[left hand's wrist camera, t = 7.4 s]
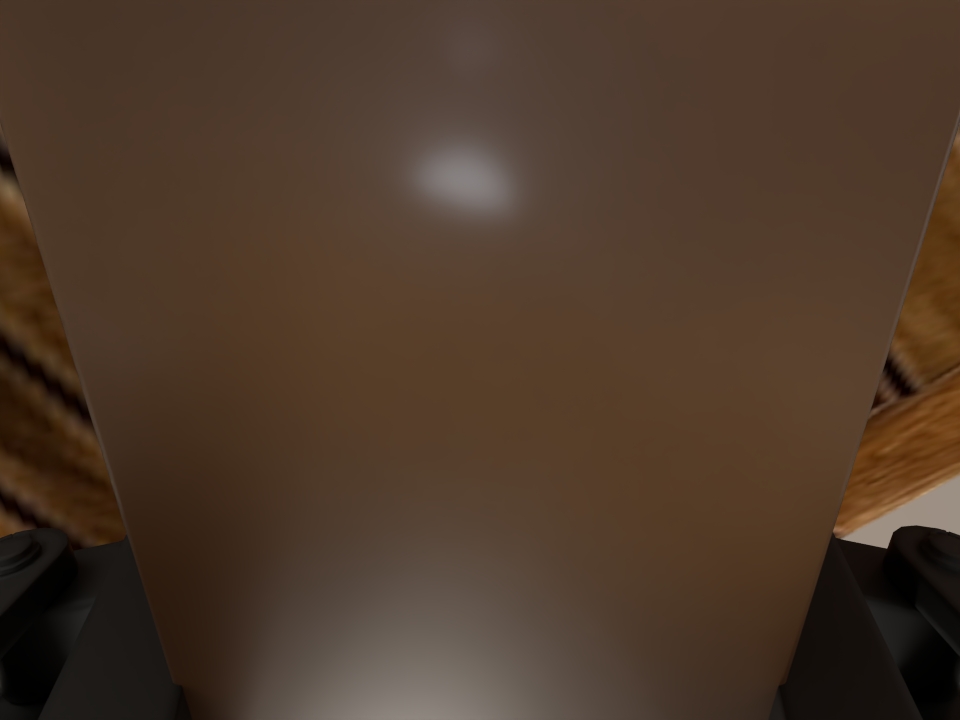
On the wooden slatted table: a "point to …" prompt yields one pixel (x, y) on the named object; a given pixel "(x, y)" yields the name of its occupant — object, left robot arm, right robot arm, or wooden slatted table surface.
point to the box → (479, 329)
